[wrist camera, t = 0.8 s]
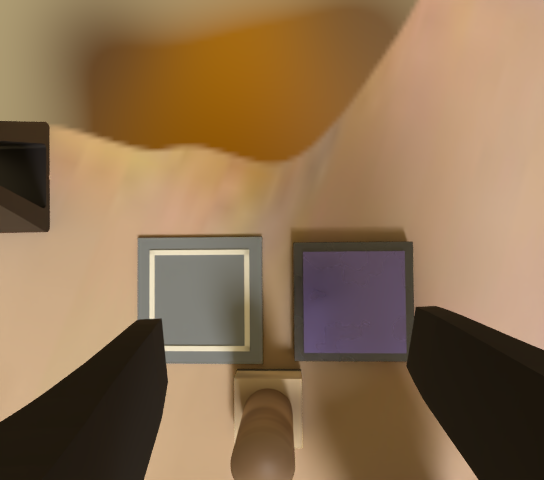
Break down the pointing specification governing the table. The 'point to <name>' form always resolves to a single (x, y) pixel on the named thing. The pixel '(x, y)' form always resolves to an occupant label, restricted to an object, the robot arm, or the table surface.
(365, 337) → the ink pad
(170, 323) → the desk mat
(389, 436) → the table surface
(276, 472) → the stamp
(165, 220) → the table surface
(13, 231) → the phone stand
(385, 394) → the table surface
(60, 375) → the table surface
